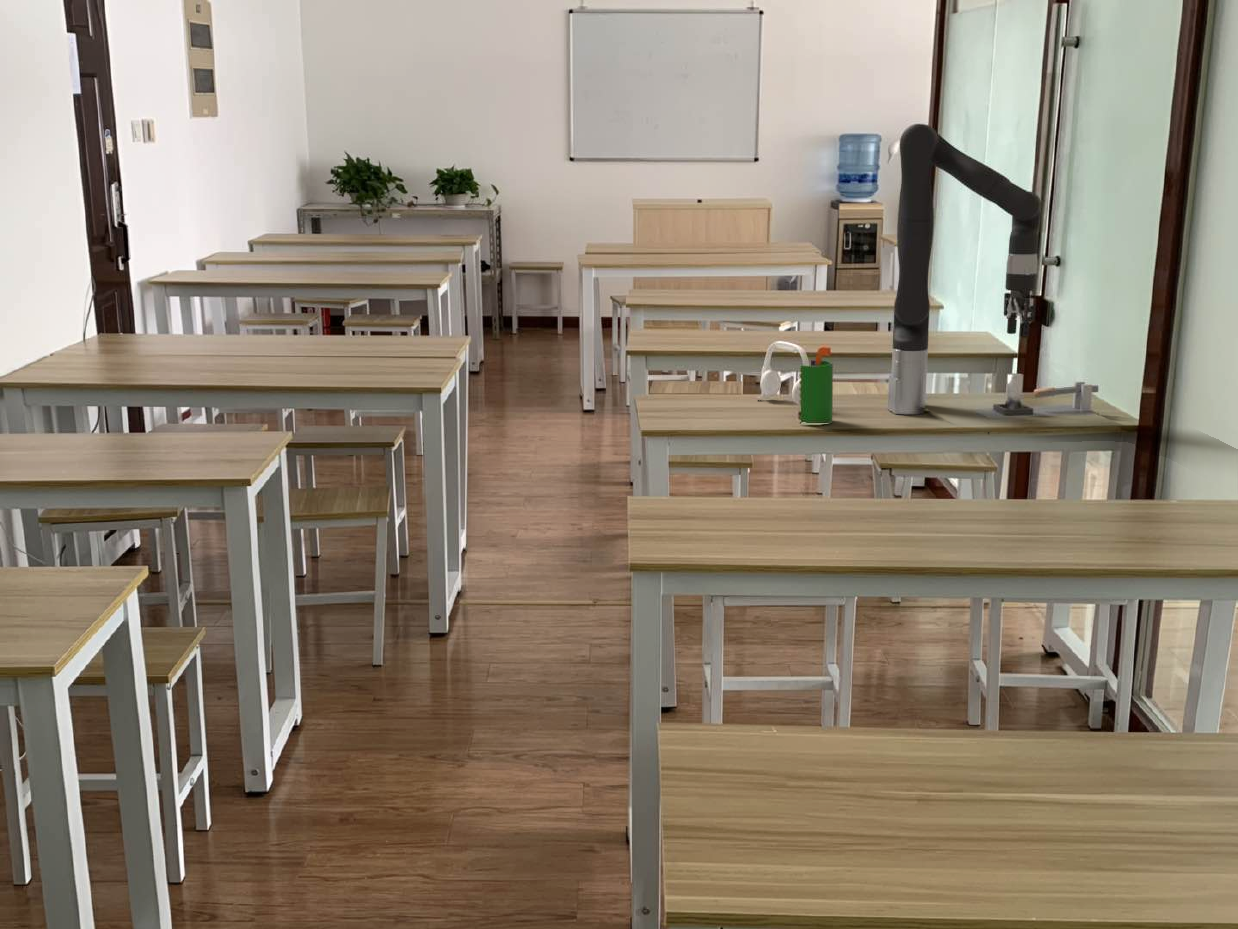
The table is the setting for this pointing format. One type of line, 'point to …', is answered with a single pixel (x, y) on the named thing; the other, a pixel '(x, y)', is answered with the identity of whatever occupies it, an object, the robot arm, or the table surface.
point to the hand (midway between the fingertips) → (1017, 335)
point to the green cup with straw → (816, 389)
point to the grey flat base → (1045, 407)
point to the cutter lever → (1060, 391)
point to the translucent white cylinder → (1014, 391)
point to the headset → (771, 378)
